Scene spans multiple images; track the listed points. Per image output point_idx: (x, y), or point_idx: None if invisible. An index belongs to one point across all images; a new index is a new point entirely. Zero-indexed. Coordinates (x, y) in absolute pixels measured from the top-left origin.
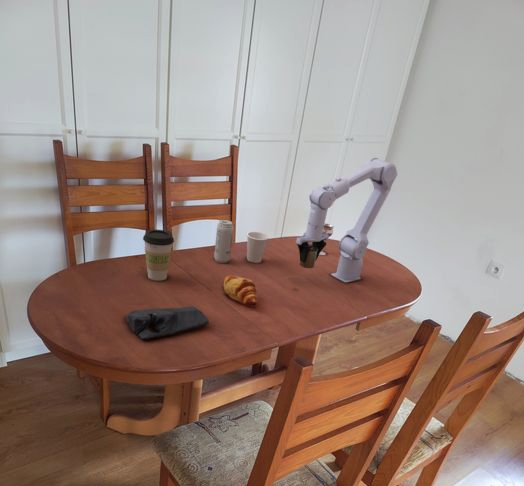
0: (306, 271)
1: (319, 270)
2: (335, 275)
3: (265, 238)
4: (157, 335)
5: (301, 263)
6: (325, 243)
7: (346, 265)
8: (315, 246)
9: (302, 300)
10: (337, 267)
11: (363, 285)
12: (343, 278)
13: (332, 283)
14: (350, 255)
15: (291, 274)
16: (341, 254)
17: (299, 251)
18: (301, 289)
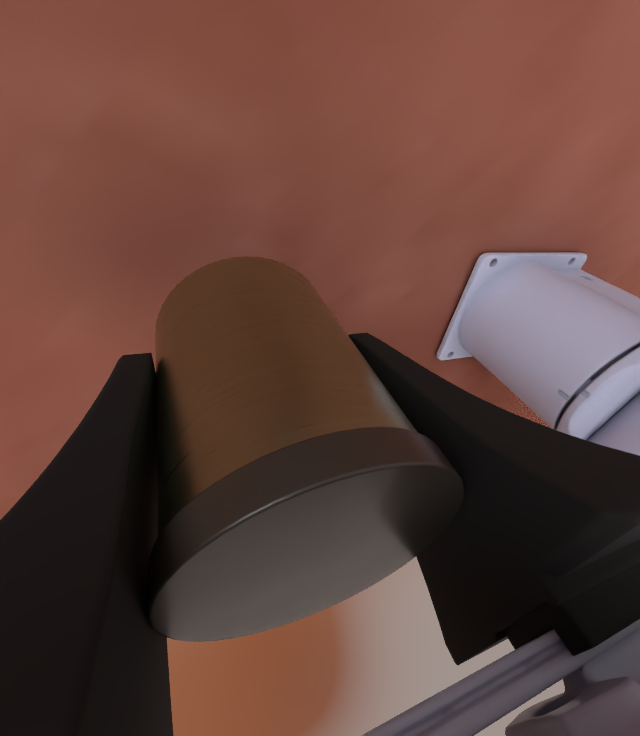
0: (413, 97)
1: (507, 149)
2: (479, 285)
3: None
4: None
5: (155, 343)
6: (505, 639)
7: (520, 389)
8: (421, 537)
9: (3, 462)
10: (535, 292)
11: (470, 387)
12: (461, 339)
13: (379, 339)
14: (587, 440)
15: (210, 54)
16: (608, 376)
17: (41, 483)
18: (99, 351)
